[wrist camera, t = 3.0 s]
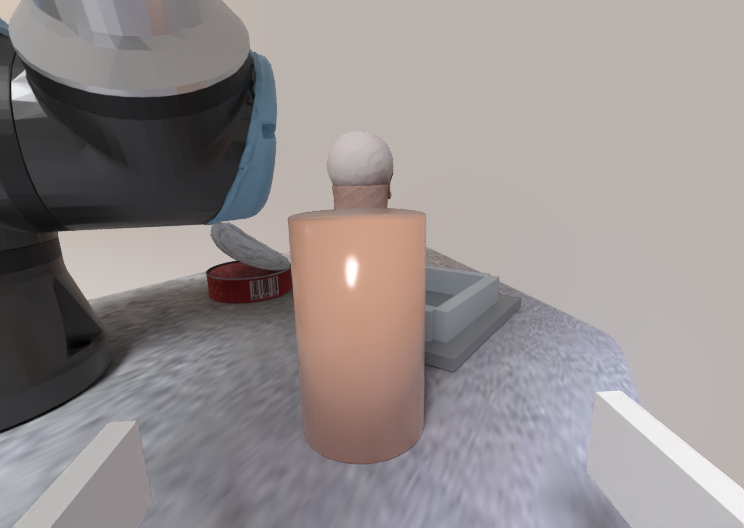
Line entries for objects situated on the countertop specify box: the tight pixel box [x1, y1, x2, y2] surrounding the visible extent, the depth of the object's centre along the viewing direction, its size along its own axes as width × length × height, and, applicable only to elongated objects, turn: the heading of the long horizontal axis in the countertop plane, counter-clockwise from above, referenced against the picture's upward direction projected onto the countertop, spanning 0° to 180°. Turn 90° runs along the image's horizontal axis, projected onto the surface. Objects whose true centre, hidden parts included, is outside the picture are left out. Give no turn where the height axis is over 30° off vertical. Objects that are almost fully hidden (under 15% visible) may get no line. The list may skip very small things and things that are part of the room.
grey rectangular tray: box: [425, 265, 521, 372], centre depth 39 cm, size 16×16×4 cm
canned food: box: [206, 222, 292, 303], centre depth 48 cm, size 11×10×10 cm
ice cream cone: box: [327, 131, 393, 209], centre depth 67 cm, size 11×11×20 cm
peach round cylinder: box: [288, 208, 426, 464], centre depth 22 cm, size 7×7×12 cm
